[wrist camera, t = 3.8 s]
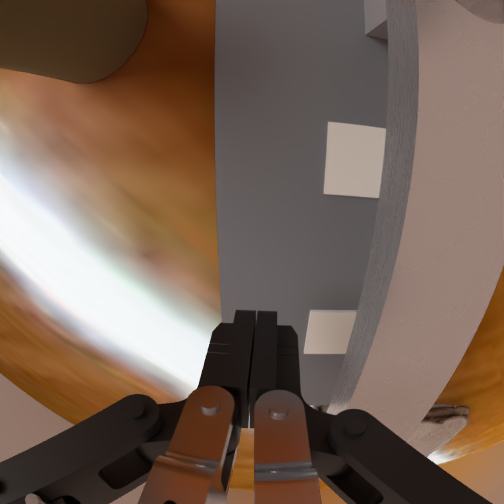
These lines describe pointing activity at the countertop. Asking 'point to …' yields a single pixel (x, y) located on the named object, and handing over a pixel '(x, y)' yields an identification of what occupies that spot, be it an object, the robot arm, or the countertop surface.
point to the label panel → (299, 166)
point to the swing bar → (431, 210)
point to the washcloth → (433, 426)
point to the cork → (70, 36)
